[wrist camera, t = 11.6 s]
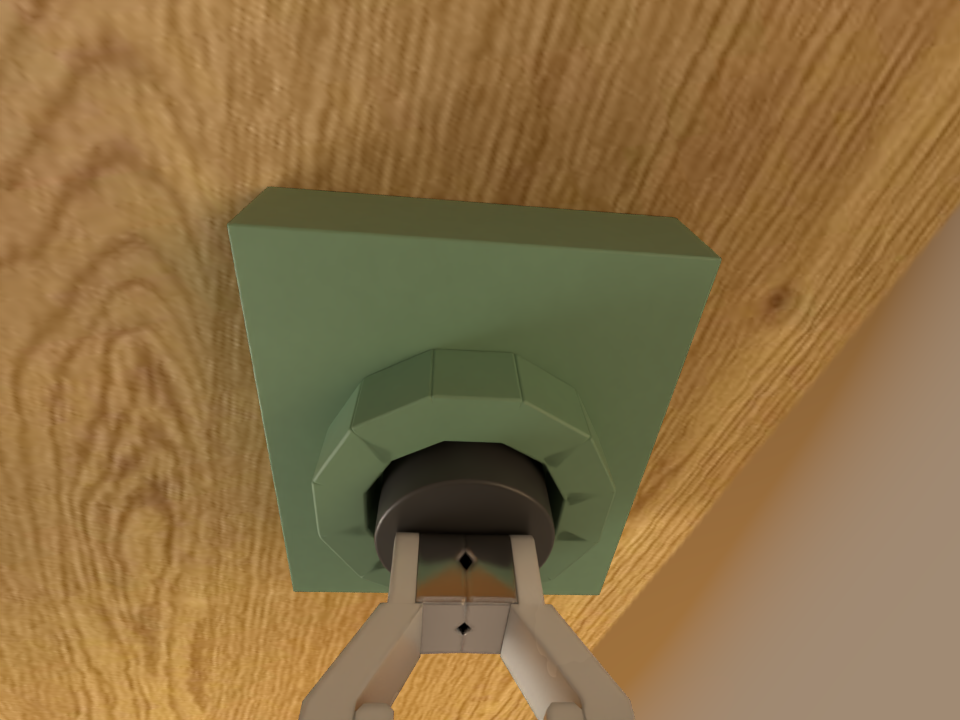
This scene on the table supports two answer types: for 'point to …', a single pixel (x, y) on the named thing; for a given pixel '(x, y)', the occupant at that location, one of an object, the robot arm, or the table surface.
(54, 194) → the table surface
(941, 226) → the table surface
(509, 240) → the button base
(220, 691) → the table surface
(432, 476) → the button
